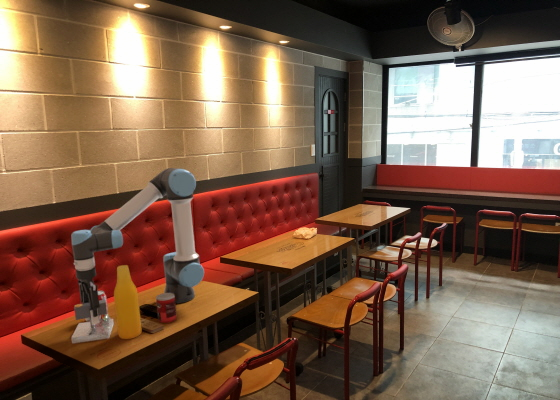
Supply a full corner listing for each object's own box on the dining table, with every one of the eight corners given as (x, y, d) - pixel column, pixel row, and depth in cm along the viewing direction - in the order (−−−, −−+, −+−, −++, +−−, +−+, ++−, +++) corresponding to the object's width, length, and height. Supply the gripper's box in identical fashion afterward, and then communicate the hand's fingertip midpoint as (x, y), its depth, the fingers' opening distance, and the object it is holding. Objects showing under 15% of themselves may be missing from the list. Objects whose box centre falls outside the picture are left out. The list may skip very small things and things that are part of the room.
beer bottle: (146, 329, 192) (138, 263, 188) (135, 340, 183) (127, 270, 179) (125, 329, 194) (118, 263, 189) (114, 339, 185) (105, 270, 180)
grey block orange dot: (107, 322, 196) (105, 298, 194) (108, 325, 192) (105, 301, 190) (77, 328, 191) (74, 304, 189) (77, 332, 187) (74, 307, 185)
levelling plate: (113, 324, 200) (112, 312, 199) (108, 338, 186) (107, 325, 186) (79, 328, 197) (78, 317, 196) (72, 343, 184) (70, 330, 183)
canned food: (161, 316, 206) (158, 293, 204) (178, 315, 205) (176, 292, 203) (156, 323, 198) (153, 299, 196) (174, 323, 198) (172, 298, 196)
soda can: (102, 321, 203) (99, 296, 201) (88, 321, 205) (85, 295, 203) (111, 315, 210) (108, 290, 208) (97, 314, 211) (94, 289, 209)
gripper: (67, 266, 191) (74, 319, 195) (85, 274, 178) (93, 330, 182) (85, 262, 196) (91, 313, 200) (104, 269, 183) (111, 324, 187)
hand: (92, 321), depth 191 cm, fingers closed on grey block orange dot, 5 cm apart
